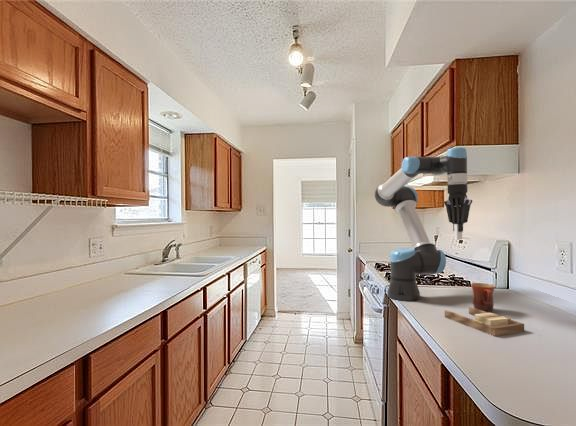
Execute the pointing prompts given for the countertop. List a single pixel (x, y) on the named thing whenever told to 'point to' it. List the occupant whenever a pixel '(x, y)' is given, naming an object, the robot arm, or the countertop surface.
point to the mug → (483, 296)
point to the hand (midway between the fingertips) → (458, 239)
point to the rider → (491, 319)
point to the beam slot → (495, 331)
